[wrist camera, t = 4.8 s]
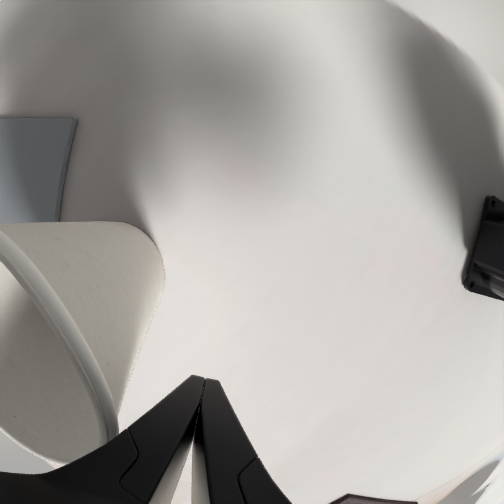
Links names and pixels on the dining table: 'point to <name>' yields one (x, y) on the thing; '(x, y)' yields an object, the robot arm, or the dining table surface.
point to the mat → (33, 167)
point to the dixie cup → (71, 330)
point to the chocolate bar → (367, 500)
